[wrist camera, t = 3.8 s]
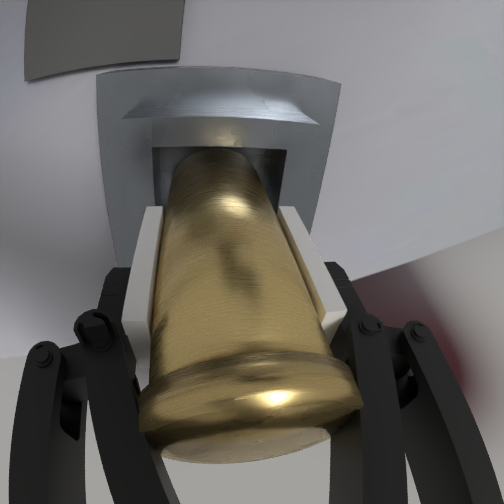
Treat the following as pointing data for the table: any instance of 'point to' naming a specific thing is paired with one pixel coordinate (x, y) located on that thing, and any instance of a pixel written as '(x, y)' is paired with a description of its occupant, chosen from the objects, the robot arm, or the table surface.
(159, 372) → the brass flared knob
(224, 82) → the housing
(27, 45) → the mat
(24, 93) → the table surface
